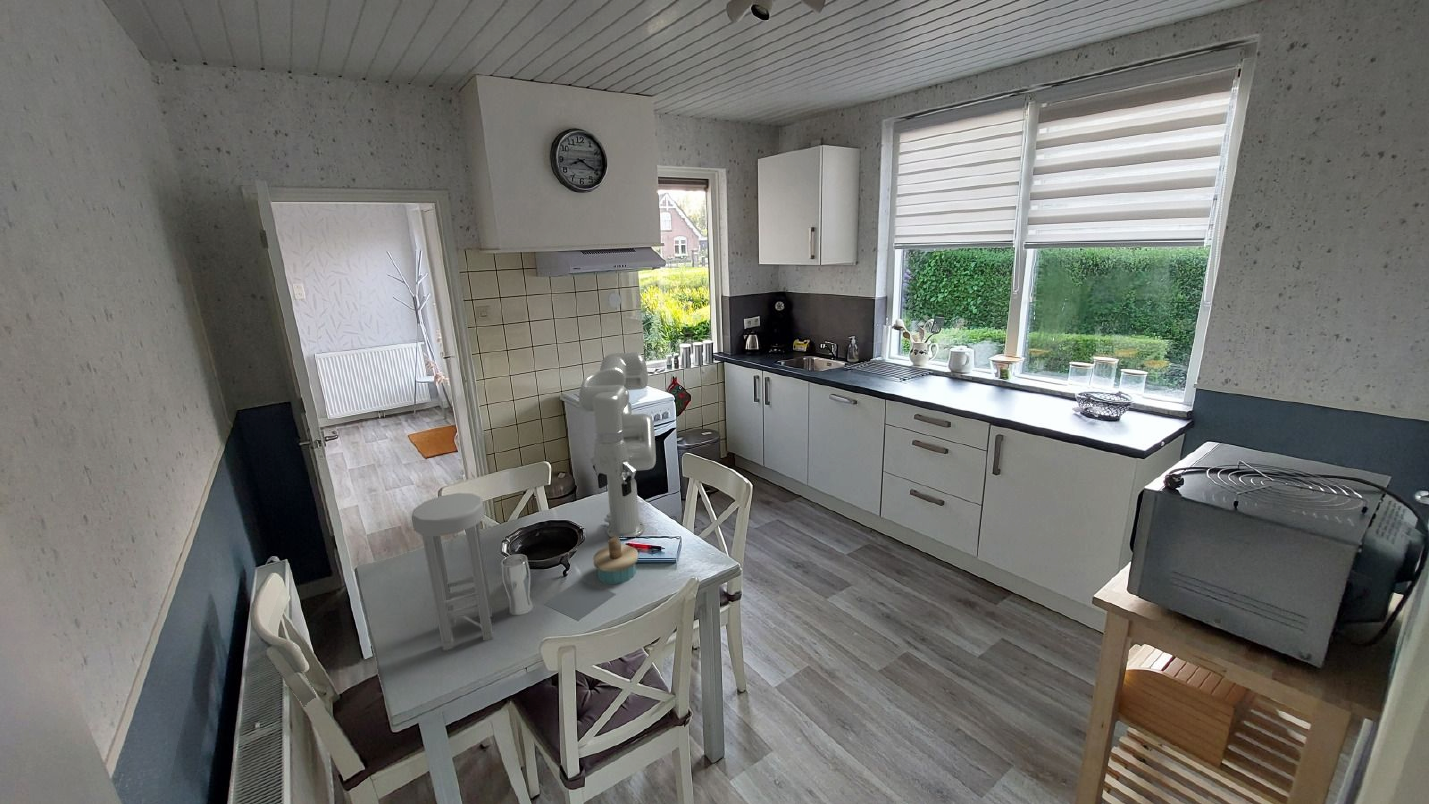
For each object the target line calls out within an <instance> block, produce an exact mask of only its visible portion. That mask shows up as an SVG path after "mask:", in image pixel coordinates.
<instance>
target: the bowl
mask: <svg viewBox="0 0 1429 804" xmlns="http://www.w3.org/2000/svg"><path fill="white" fill-rule="evenodd" d="M636 568H637V567H636V563H635V564H634V565H633V566H631V567H629V568H627V569H624V570H620V571H613V572H609V571H602V570H599V569H597V577H598V579H599V580H600V582H602V583H605V584H609V585H611V584H613V585H616V584H621V583H625V582H627V581H630V580H631V579H633V578H634V577H635V575H636V574H637V569H636Z"/></svg>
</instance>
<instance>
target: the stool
mask: <svg viewBox="0 0 1429 804" xmlns="http://www.w3.org/2000/svg"><path fill="white" fill-rule="evenodd" d="M483 519H485V506H484V499H483V497H481V496H478V495H476V494H474V493H465V492H464V493H463V492H462V493H461V492H457V493H456V492H455V493H451V494H445V495H444V494H443V495H440V496H437V497H434V498H432V499H428V500H425V501H423V502H422V503H421V504H419V505H418V506H416V507H415V508H413V511H412V514H411V523H412V527H413V531H414V532H415V533H417V534H418V535H420V536H421V538H422V542H423V547H424V552H425V557H426V565H427V568H428V569H427V570H428V575H429V580H430V585H431V591H432V597H433V601H434V606H435V607H434V608H435V613H436V617H437V622H438V628H439V634H440V640H441V644H442V650H443V651H448V650H451V649H453V648H454V644H455V643H454V637H453V631H452V629H453V628H456V623H457V621H456V617H457V616H458V617H459V616H463V615H466V614H472V613H476V612H478V615H479V621H480V627H481V633H482V635H481V636H482V640H483V642H484V641H488V640H493V639H494V638H493V637H494V633H493V626H492V620H491V617H493V608H492V602H491V601H492V600H491V595H490V590H489V583H488V575H487V570H486V563H485V557H484V551H483V545H482V539H481V538H482V537H481V532H480V526H479V524H480V522H481V521H483ZM464 531H465V536H466V543H467V549H468V555H469V562H470V567H471V575H472V576H469V577H464V578H460V579H455V580H450V581H449V577H448V572H447V571H448V570H447V565H446V561H445V554H444V548H443V544H442V543H443V542H442V536H446V535H447V536H448V535H452V534H453V535H454V534H458V533H460V532H464ZM472 583H473V585H474V586H473V587H469V588H463V589H459V590H454V591H451V588H453V587H457V586H462V585H468V584H472ZM473 601H476V603H477V604H476V605H475V604H473V605H469V606H466V607H461V608H458V609H454V606H456V605H460V604H464V603H469V602H473Z"/></svg>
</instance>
